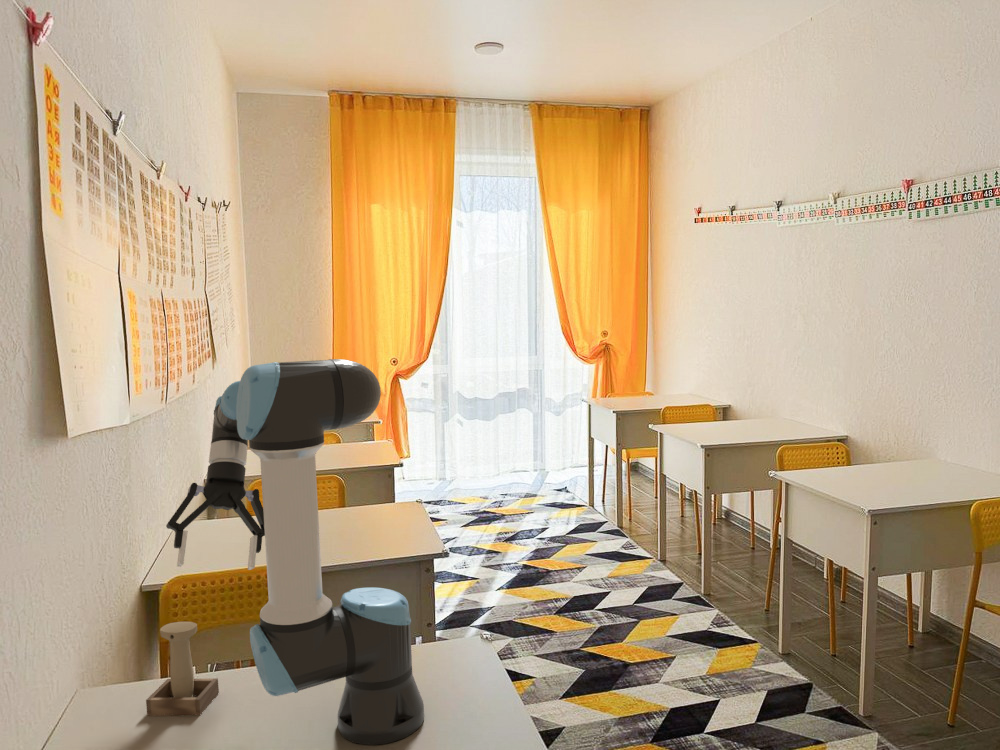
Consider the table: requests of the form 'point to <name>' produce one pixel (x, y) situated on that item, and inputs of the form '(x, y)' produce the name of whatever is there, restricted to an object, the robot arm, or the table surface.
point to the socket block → (182, 699)
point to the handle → (180, 657)
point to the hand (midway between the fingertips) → (216, 567)
